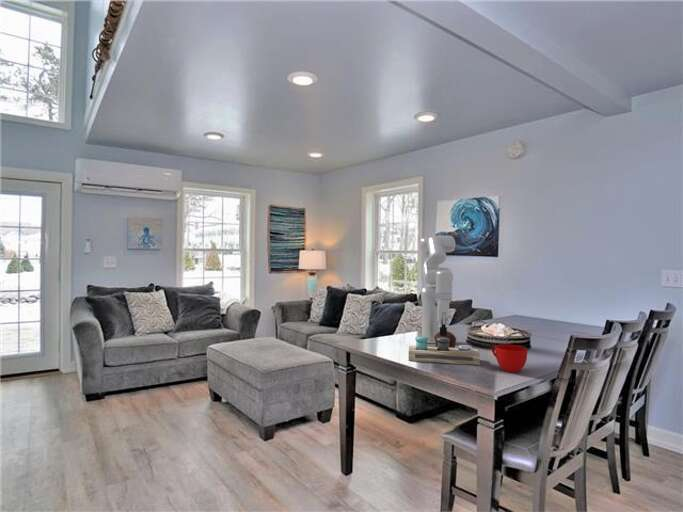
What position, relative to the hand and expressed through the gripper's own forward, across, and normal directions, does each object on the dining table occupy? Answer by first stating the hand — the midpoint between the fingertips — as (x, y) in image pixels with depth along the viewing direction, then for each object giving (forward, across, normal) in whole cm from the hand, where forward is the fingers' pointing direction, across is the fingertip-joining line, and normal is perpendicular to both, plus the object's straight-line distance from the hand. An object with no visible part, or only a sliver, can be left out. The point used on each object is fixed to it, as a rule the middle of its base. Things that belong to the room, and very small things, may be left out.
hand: (443, 335), depth 198 cm
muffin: (+12, -20, +2) cm, 24 cm away
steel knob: (+12, 0, +10) cm, 15 cm away
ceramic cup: (+12, +10, +27) cm, 31 cm away
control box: (+12, 0, 0) cm, 12 cm away
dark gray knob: (+9, 0, 0) cm, 9 cm away
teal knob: (+9, 0, -10) cm, 13 cm away
